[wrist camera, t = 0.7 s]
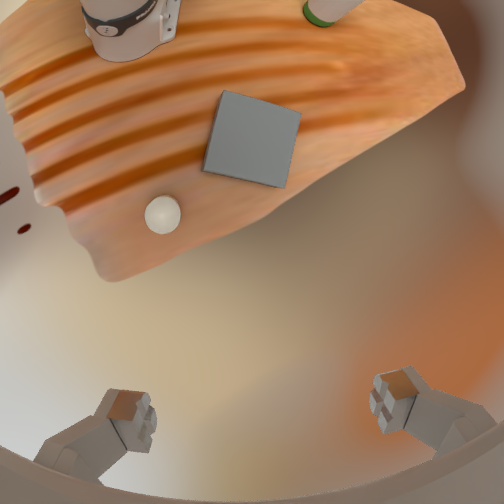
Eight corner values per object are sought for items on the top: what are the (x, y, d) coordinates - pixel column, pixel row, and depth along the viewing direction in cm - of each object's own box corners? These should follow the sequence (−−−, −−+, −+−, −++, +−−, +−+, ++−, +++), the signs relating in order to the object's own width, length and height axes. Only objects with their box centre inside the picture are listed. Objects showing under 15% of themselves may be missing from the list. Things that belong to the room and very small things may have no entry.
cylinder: (152, 192, 48) (148, 194, 40) (182, 197, 49) (183, 200, 42) (147, 222, 49) (142, 230, 41) (176, 227, 50) (177, 236, 43)
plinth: (219, 98, 46) (223, 90, 42) (290, 118, 50) (301, 113, 46) (201, 170, 49) (203, 170, 44) (275, 187, 53) (284, 188, 48)
